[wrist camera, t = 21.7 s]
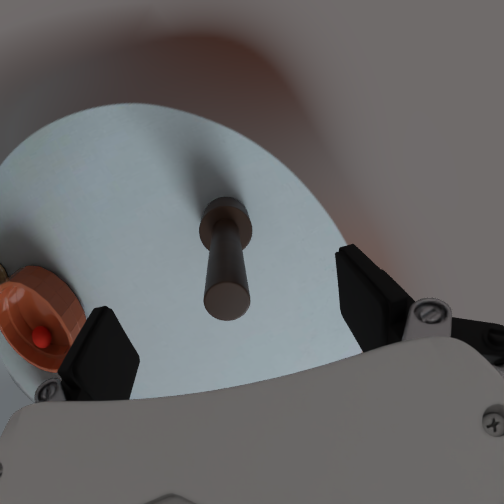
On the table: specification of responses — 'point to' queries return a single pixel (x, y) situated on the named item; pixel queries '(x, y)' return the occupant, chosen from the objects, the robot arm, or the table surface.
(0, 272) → the sprinkles bottle
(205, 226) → the brown wooden peg
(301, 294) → the table surface
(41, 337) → the berry
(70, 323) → the bowl
